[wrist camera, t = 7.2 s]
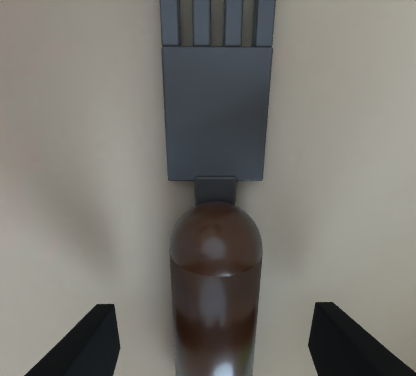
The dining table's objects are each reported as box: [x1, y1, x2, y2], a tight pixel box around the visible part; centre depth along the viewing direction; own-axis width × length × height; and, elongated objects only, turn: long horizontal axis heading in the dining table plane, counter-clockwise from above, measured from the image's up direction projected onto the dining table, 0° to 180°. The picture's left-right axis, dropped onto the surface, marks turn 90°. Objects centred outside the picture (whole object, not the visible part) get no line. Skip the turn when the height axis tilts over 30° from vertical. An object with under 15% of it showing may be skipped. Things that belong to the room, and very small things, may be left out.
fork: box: [160, 0, 276, 376], centre depth 8 cm, size 20×3×3 cm, turn 0°
